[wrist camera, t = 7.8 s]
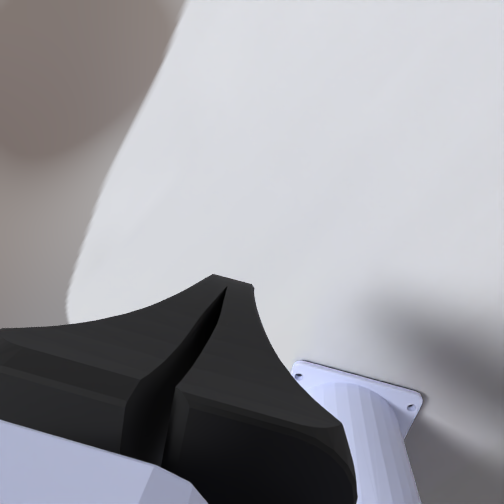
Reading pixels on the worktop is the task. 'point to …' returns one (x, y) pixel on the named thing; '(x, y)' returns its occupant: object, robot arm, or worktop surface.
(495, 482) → the worktop surface
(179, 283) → the worktop surface
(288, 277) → the worktop surface
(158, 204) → the worktop surface
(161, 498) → the robot arm
